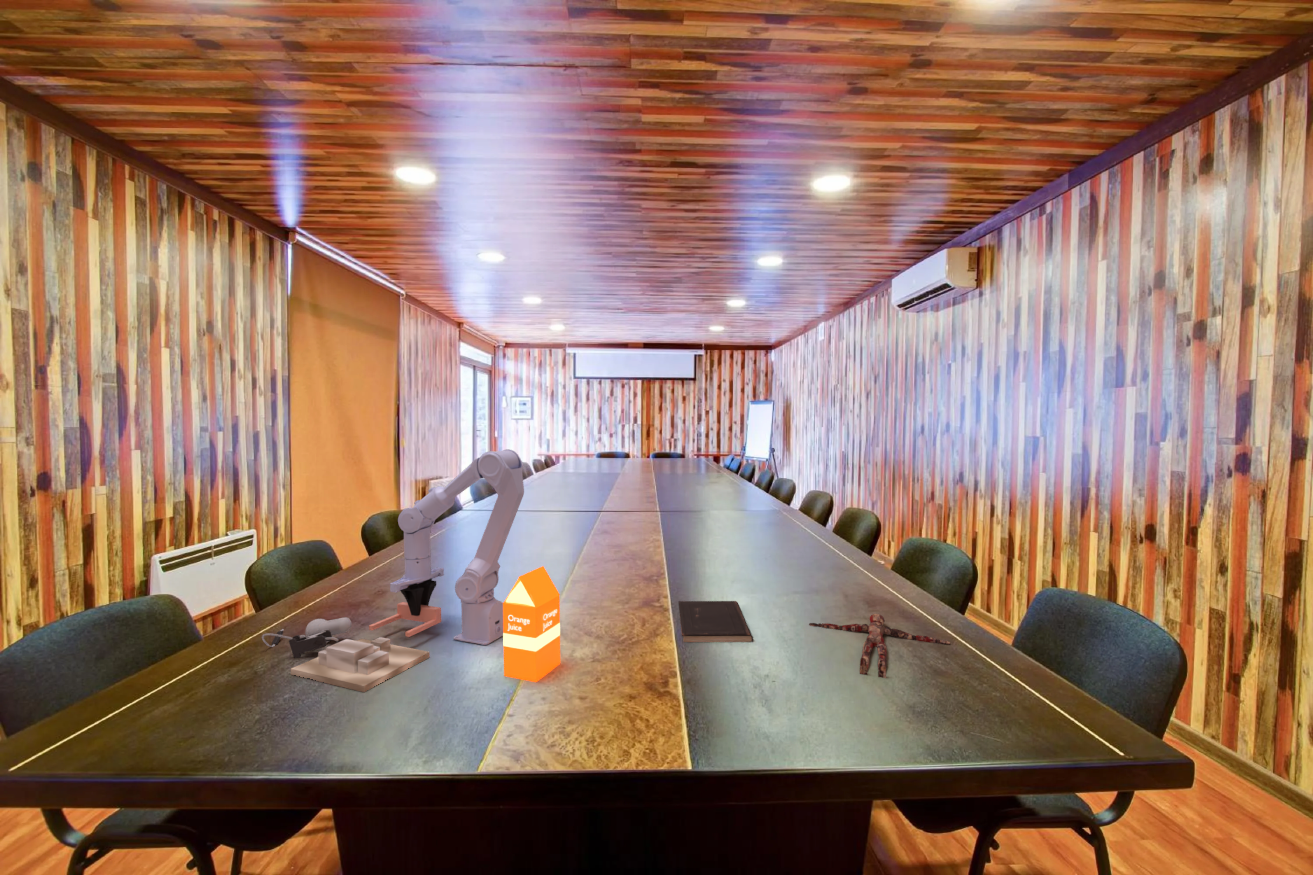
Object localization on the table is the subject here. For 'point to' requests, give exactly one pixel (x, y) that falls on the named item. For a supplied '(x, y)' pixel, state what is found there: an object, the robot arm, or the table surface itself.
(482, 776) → the table surface
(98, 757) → the table surface
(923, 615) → the table surface
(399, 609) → the u-shaped bracket
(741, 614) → the hardcover book
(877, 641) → the mannequin
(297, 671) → the architectural building model
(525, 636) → the orange juice
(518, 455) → the robot arm
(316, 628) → the clip-on lamp
